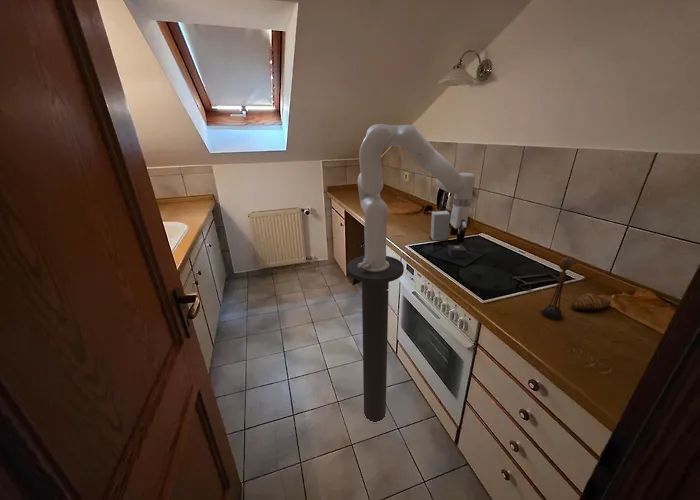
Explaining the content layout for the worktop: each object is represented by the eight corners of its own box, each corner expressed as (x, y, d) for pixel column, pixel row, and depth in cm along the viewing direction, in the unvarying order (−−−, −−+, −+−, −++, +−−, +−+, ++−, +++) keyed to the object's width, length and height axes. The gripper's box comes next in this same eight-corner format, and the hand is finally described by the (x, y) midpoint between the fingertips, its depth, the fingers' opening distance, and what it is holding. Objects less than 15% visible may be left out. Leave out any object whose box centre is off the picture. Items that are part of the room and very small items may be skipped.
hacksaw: (563, 273, 120) (564, 270, 120) (584, 286, 111) (585, 282, 110) (506, 277, 118) (507, 274, 118) (523, 290, 109) (524, 287, 108)
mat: (464, 267, 128) (464, 266, 128) (428, 255, 141) (428, 255, 140) (483, 255, 139) (483, 254, 139) (448, 245, 152) (448, 244, 152)
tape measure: (465, 257, 137) (466, 249, 135) (451, 257, 137) (451, 249, 136) (460, 251, 143) (461, 243, 142) (446, 251, 144) (447, 243, 142)
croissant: (598, 299, 102) (602, 287, 100) (617, 310, 96) (622, 297, 94) (563, 304, 100) (567, 291, 98) (581, 315, 94) (585, 302, 92)
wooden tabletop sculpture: (554, 309, 97) (569, 253, 90) (567, 317, 93) (584, 259, 86) (539, 312, 96) (554, 256, 88) (552, 320, 92) (568, 262, 84)
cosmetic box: (444, 236, 164) (447, 210, 158) (448, 240, 158) (451, 213, 152) (429, 237, 164) (431, 210, 158) (432, 241, 158) (434, 213, 153)
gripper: (448, 197, 138) (443, 232, 145) (459, 206, 122) (453, 245, 129) (464, 197, 138) (459, 232, 144) (477, 206, 122) (471, 245, 128)
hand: (456, 238), depth 137 cm, fingers open, 9 cm apart
